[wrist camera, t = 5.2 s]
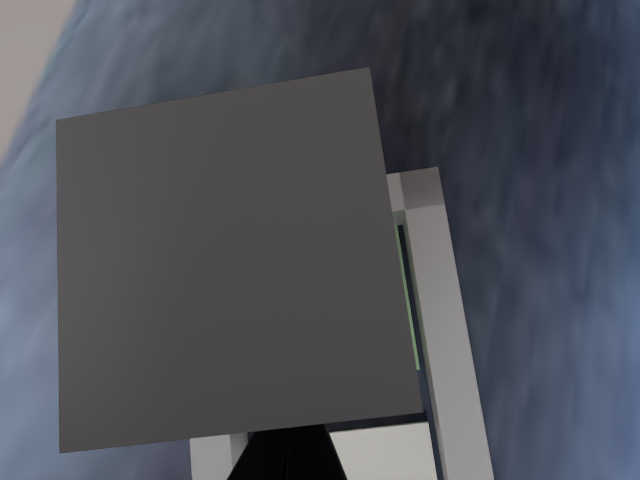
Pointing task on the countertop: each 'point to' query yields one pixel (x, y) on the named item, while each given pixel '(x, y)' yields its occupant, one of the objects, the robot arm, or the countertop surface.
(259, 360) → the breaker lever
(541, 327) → the countertop surface
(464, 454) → the frame
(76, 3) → the countertop surface
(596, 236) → the countertop surface
